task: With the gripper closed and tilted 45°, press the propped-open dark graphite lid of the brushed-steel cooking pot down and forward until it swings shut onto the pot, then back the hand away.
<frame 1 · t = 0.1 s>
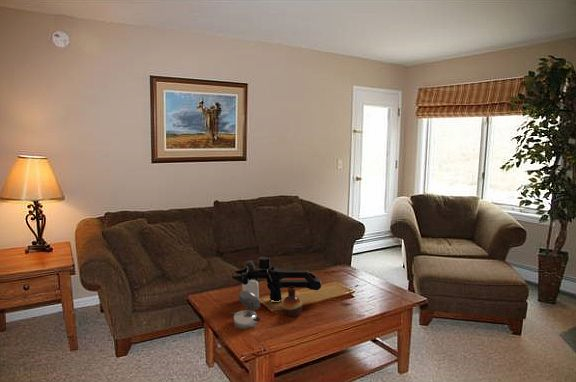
hand: (233, 274, 238), 17 cm above the table, tool horizontal, fingers open, 9 cm apart
cooker pot: (245, 323, 209), on the table
vase: (292, 314, 219), on the table
cooker lid: (249, 299, 212), point 11 cm above the table, hinge at 65.0°
photo printer: (250, 299, 241), on the table
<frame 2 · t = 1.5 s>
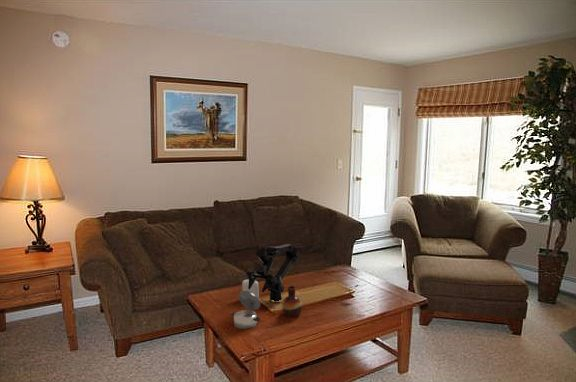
hand: (255, 290, 218), 14 cm above the table, tool tilted 45°, fingers open, 9 cm apart
nothing on the table moved.
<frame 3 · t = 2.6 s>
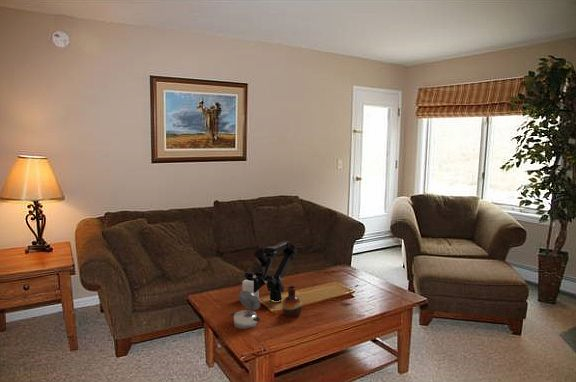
hand: (254, 292, 216), 14 cm above the table, tool tilted 45°, fingers closed
nothing on the table moved.
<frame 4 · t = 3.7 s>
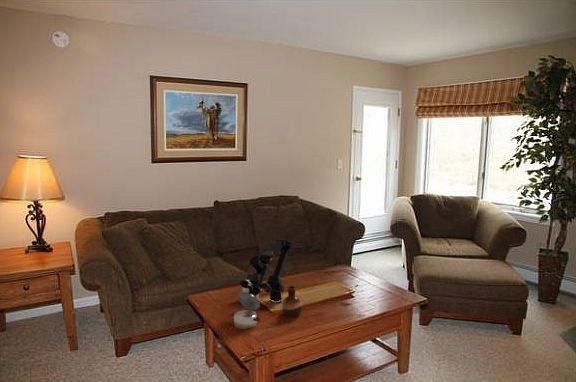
hand: (249, 300, 212), 11 cm above the table, tool tilted 45°, fingers closed, pressing on cooker lid
cooker lid: (249, 300, 212), point 11 cm above the table, hinge at 61.5°, touching gripper
everything else where it was.
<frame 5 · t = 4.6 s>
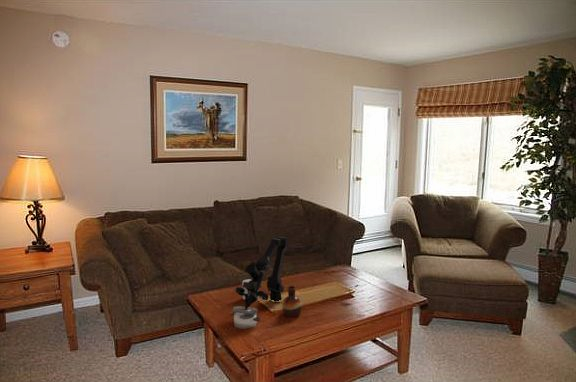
hand: (245, 308, 209), 8 cm above the table, tool tilted 45°, fingers closed, pressing on cooker lid
cooker lid: (245, 308, 209), point 8 cm above the table, hinge at 16.4°, touching gripper
everything else where it was.
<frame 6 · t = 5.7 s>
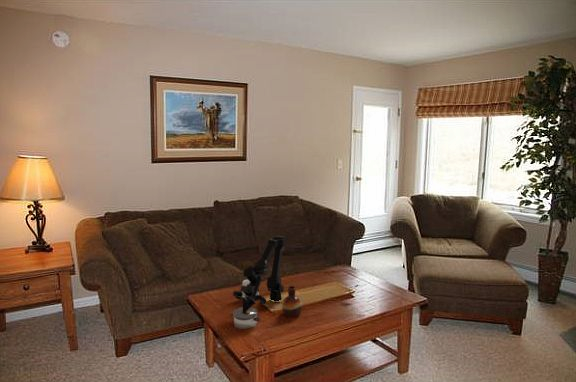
hand: (243, 312, 207), 7 cm above the table, tool tilted 45°, fingers closed, pressing on cooker lid
cooker lid: (245, 312, 209), point 6 cm above the table, hinge at 1.8°, touching gripper
everything else where it was.
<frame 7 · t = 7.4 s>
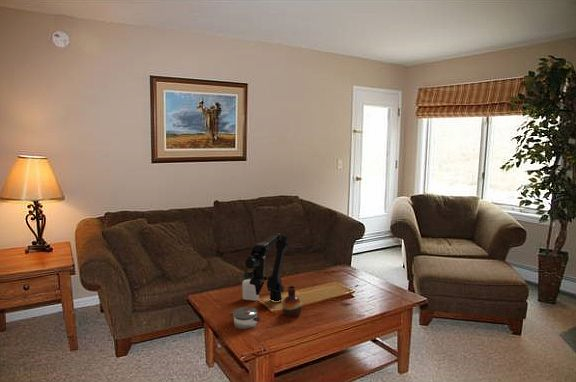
hand: (257, 294, 219), 11 cm above the table, tool pointing down, fingers closed
cooker lid: (245, 312, 209), point 6 cm above the table, hinge at 1.8°
everything else where it was.
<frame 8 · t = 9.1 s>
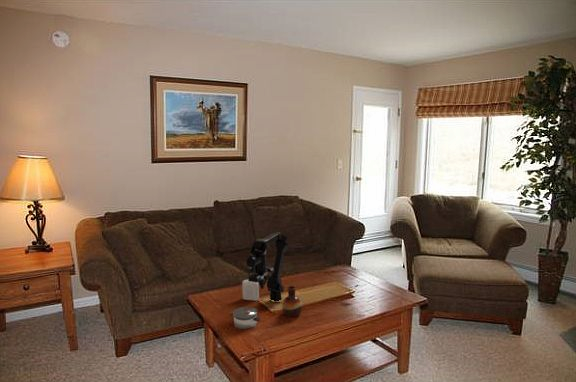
hand: (262, 288, 223), 13 cm above the table, tool pointing down, fingers closed
nothing on the table moved.
at the end: cooker lid at +2° (first picture: +65°); photo printer moved 0.2 cm from its start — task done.
